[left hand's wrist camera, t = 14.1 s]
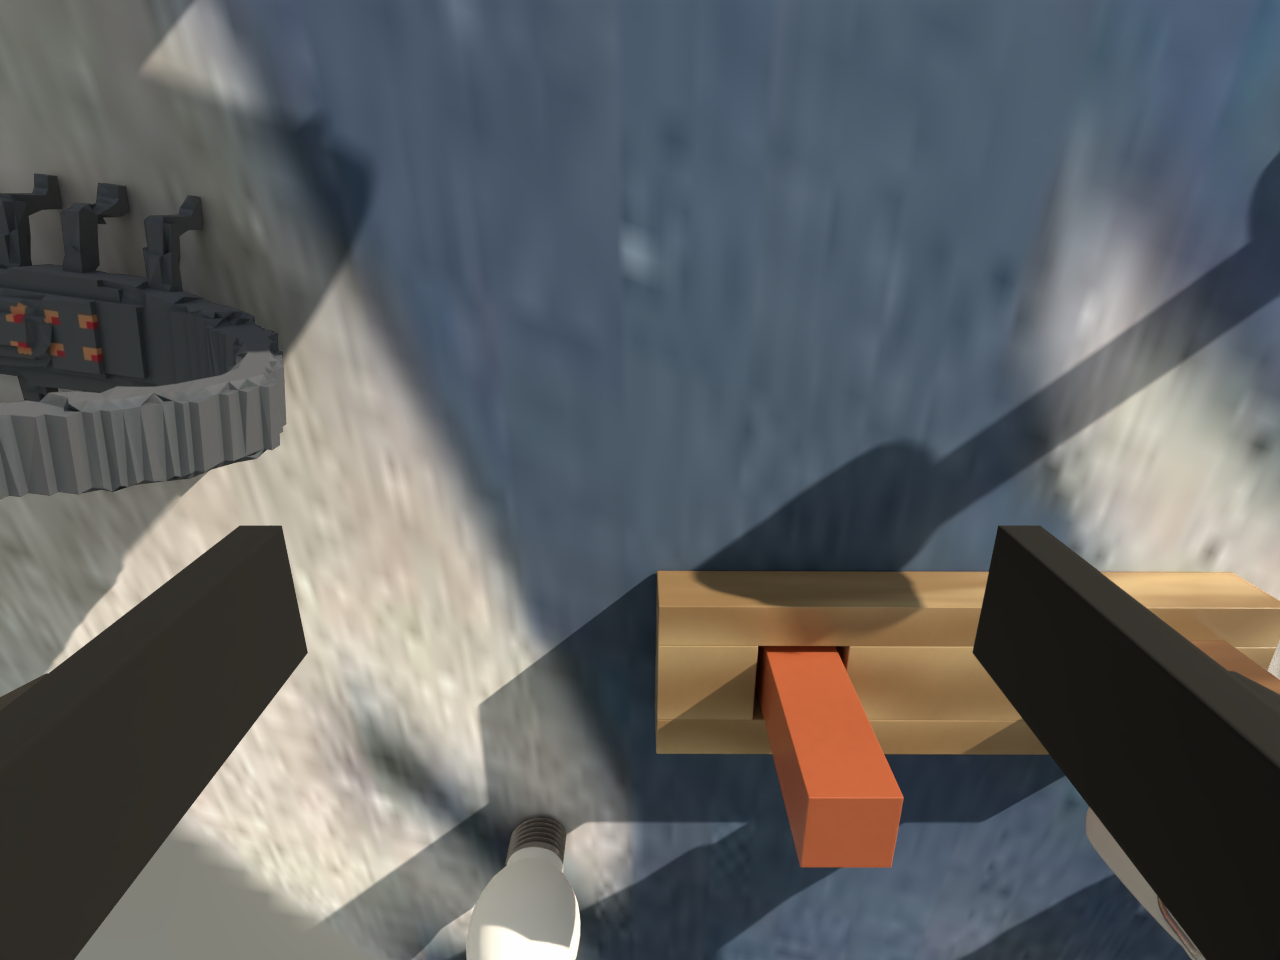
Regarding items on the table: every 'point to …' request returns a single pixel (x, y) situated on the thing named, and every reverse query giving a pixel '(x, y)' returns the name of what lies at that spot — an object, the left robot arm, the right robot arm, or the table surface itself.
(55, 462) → the toy
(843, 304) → the table surface
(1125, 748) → the left robot arm
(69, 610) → the table surface
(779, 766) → the peg
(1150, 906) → the right robot arm
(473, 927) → the light bulb
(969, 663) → the board
